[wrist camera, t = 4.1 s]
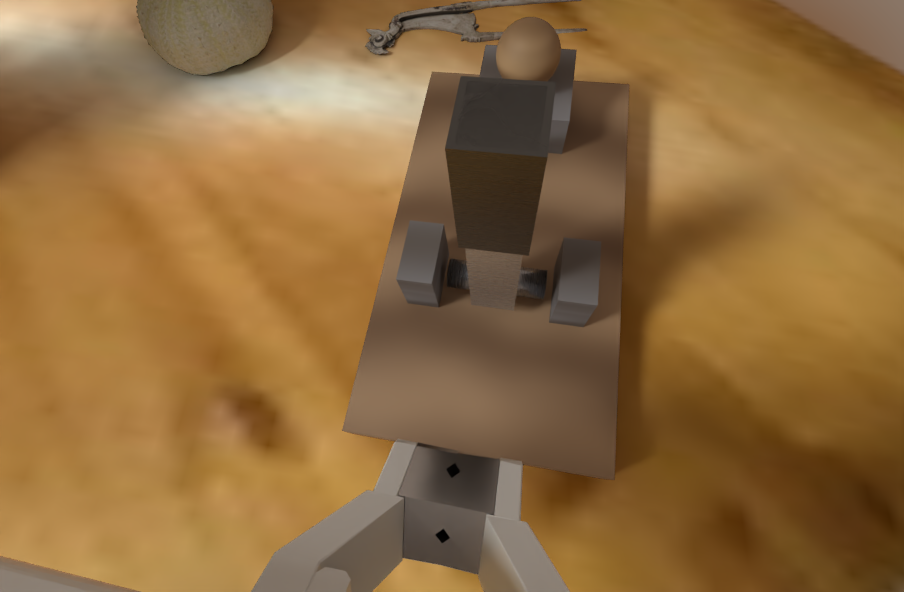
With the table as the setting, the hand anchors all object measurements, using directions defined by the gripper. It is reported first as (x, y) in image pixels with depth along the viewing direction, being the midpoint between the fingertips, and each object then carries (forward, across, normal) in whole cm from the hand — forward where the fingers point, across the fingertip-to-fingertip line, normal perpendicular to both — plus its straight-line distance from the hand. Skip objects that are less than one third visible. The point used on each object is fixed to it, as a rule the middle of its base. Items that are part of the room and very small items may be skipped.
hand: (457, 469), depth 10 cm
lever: (+12, 0, 0) cm, 12 cm away
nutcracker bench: (+16, 0, 0) cm, 16 cm away
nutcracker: (+29, +4, -13) cm, 32 cm away
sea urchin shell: (+27, +24, -11) cm, 37 cm away
